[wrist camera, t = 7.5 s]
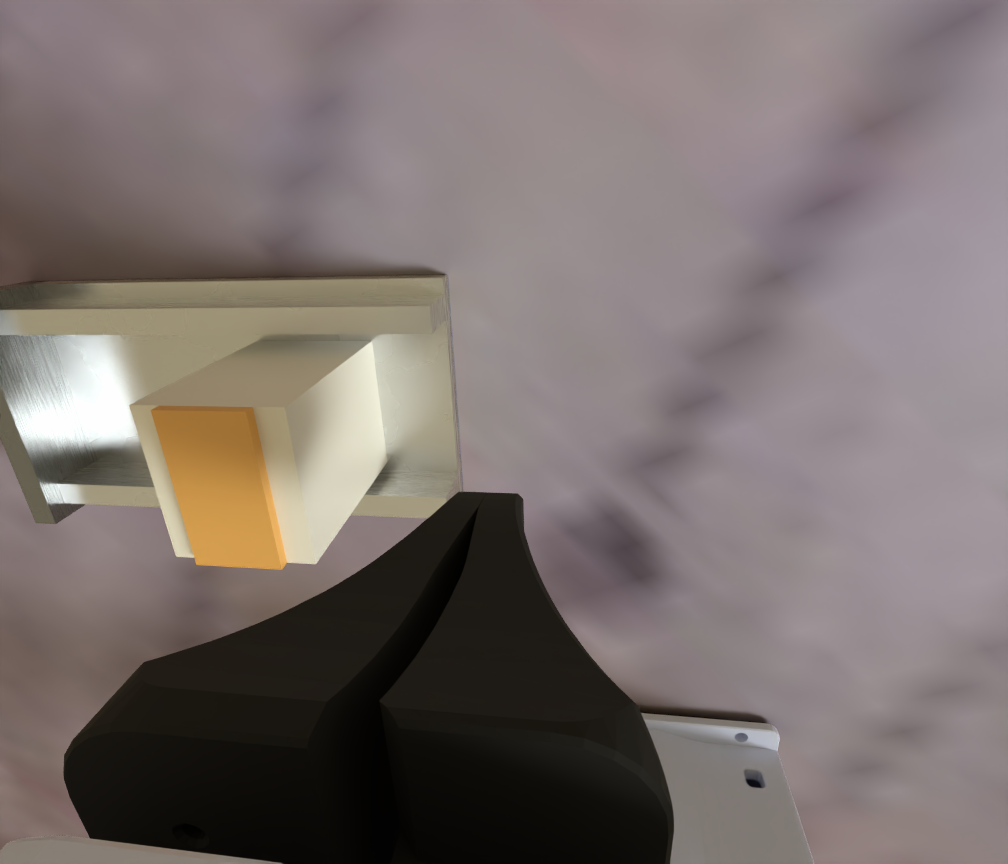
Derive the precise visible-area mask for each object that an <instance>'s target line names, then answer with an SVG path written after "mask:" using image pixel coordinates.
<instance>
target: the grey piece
mask: <svg viewBox="0 0 1008 864" xmlns="http://www.w3.org/2000/svg"><path fill="white" fill-rule="evenodd" d="M256 341H372V346H373V353H374V361H375V369H376V377H377V385H378V392H379V400H380V408H381V416H382V424H383V431H384V439H385V447H386V455H387V463H386V465H385V466H384V468H383V469H382V470H381V472H380V473H379V475H378V476H377V478H376V479H375V480H374V482H373V483H372V485H371V486H370V488H369V489H368V490H367V492H366V493H365V495H364V496H363V498H362V499H361V500H360V502H359V503H358V505H357V506H356V508H355V509H354V510H353V512H352V513H351V515H360V516H384V517H409V518H429V517H430V516H431V515H432V514H433V513H435V512H436V511H437V510H438V509H439V508H440V507H441V506H443V505H444V504H445V503H446V502H447V501H448V500H449V499H450V498H452V497H453V496H454V495H455V494H456V493H458V492H463V487H462V474H461V460H460V446H459V432H458V418H457V404H456V391H455V377H454V363H453V349H452V335H451V321H450V308H449V294H448V280H447V275H404V276H342V277H280V278H218V279H156V280H94V281H31V282H23V283H18V284H13V285H7V286H2V287H0V438H1V441H2V443H3V445H4V448H5V450H6V453H7V455H8V457H9V460H10V462H11V465H12V467H13V469H14V472H15V474H16V477H17V479H18V481H19V484H20V486H21V489H22V491H23V493H24V496H25V498H26V501H27V503H28V505H29V508H30V510H31V513H32V515H33V517H34V520H35V522H36V523H45V524H56V523H58V522H60V521H61V520H63V519H64V518H66V517H67V516H69V515H70V514H72V513H73V512H75V511H76V510H78V509H79V508H81V507H82V506H84V505H85V504H95V505H119V506H143V507H161V506H160V503H159V500H158V497H157V494H156V490H155V487H154V484H153V481H152V478H151V474H150V471H149V468H148V465H147V462H146V458H145V455H144V452H143V449H142V446H141V442H140V439H139V436H138V433H137V430H136V426H135V423H134V420H133V417H132V414H131V410H130V407H129V405H130V404H132V403H134V402H136V401H138V400H140V399H142V398H144V397H146V396H148V395H150V394H152V393H154V392H156V391H158V390H160V389H162V388H164V387H166V386H168V385H170V384H172V383H174V382H176V381H178V380H180V379H182V378H184V377H186V376H188V375H190V374H192V373H194V372H196V371H198V370H200V369H202V368H204V367H206V366H208V365H210V364H212V363H214V362H216V361H218V360H220V359H222V358H224V357H226V356H228V355H230V354H232V353H234V352H236V351H238V350H240V349H242V348H244V347H246V346H248V345H250V344H252V343H254V342H256Z"/></svg>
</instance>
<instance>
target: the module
mask: <svg viewBox="0 0 1008 864" xmlns="http://www.w3.org/2000/svg"><path fill="white" fill-rule="evenodd" d="M129 407H130V410H131V414H132V417H133V420H134V423H135V426H136V430H137V433H138V436H139V439H140V442H141V446H142V449H143V452H144V455H145V458H146V462H147V465H148V468H149V471H150V474H151V478H152V481H153V484H154V487H155V490H156V494H157V497H158V500H159V503H160V506H161V510H162V513H163V516H164V519H165V522H166V526H167V529H168V532H169V535H170V538H171V542H172V545H173V548H174V551H175V554H176V557H192V558H195V561H196V565H208V566H226V567H244V568H262V569H280V570H282V569H283V567H284V566H285V565H286V563H304V564H316V563H317V562H318V560H319V559H320V558H321V556H322V555H323V553H324V552H325V550H326V549H327V548H328V546H329V545H330V543H331V542H332V540H333V539H334V538H335V536H336V535H337V533H338V532H339V530H340V529H341V528H342V526H343V525H344V523H345V522H346V520H347V519H348V518H349V516H350V515H351V513H352V512H353V510H354V509H355V508H356V506H357V505H358V503H359V502H360V500H361V499H362V498H363V496H364V495H365V493H366V492H367V490H368V489H369V488H370V486H371V485H372V483H373V482H374V480H375V479H376V478H377V476H378V475H379V473H380V472H381V470H382V469H383V468H384V466H385V465H386V463H387V455H386V447H385V439H384V431H383V424H382V416H381V408H380V400H379V392H378V385H377V377H376V369H375V361H374V353H373V346H372V341H256V342H254V343H252V344H250V345H248V346H246V347H244V348H242V349H240V350H238V351H236V352H234V353H232V354H230V355H228V356H226V357H224V358H222V359H220V360H218V361H216V362H214V363H212V364H210V365H208V366H206V367H204V368H202V369H200V370H198V371H196V372H194V373H192V374H190V375H188V376H186V377H184V378H182V379H180V380H178V381H176V382H174V383H172V384H170V385H168V386H166V387H164V388H162V389H160V390H158V391H156V392H154V393H152V394H150V395H148V396H146V397H144V398H142V399H140V400H138V401H136V402H134V403H132V404H130V405H129Z"/></svg>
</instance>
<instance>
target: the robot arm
mask: <svg viewBox="0 0 1008 864" xmlns="http://www.w3.org/2000/svg"><path fill="white" fill-rule="evenodd" d="M738 733H740V734H738ZM779 741H780V737H779V734H778V731H777V729H776V728H775V727H774V726H773V725H771V724H766V723H755V722H743V721H731V720H719V719H707V718H695V717H683V716H671V715H659V714H647V713H641V712H640V709H639V707H638V705H637V704H635V703H634V702H633V701H632V700H631V699H630V698H629V697H628V696H627V695H626V694H625V693H624V692H623V691H622V690H621V689H620V688H619V687H618V686H617V685H616V684H615V683H614V682H613V681H612V680H611V679H610V678H609V677H608V676H607V675H606V674H605V673H604V672H603V670H602V669H601V668H600V667H599V666H598V665H597V663H596V662H595V661H594V660H593V659H592V658H591V657H590V655H589V654H588V653H587V652H586V650H585V649H584V647H583V646H582V645H581V643H580V642H579V641H578V639H577V638H576V637H575V635H574V634H573V633H572V631H571V630H570V629H569V627H568V626H567V624H566V623H565V621H564V620H563V618H562V616H561V615H560V613H559V612H558V610H557V608H556V607H555V605H554V603H553V601H552V600H551V598H550V596H549V594H548V592H547V590H546V588H545V586H544V584H543V582H542V580H541V578H540V576H539V573H538V571H537V568H536V566H535V564H534V561H533V558H532V556H531V553H530V550H529V546H528V543H527V540H526V536H525V533H524V512H523V498H522V497H521V496H520V495H519V494H512V493H484V492H458V493H456V494H455V495H454V496H453V497H452V498H450V499H449V500H448V501H447V502H446V503H445V504H444V505H443V506H441V507H440V508H439V509H438V510H437V511H436V512H435V513H433V514H432V515H431V516H430V517H429V518H428V519H427V520H425V521H424V522H423V523H422V524H421V525H420V526H418V527H417V528H416V529H415V530H414V531H412V532H411V533H410V534H409V535H408V536H406V537H405V538H404V539H403V540H401V541H400V542H399V543H397V544H396V545H395V546H393V547H392V548H391V549H389V550H388V551H387V552H385V553H384V554H383V555H381V556H380V557H379V558H377V559H376V560H375V561H373V562H372V563H370V564H369V565H367V566H366V567H364V568H363V569H361V570H360V571H358V572H357V573H355V574H354V575H352V576H350V577H349V578H347V579H345V580H344V581H342V582H340V583H339V584H337V585H335V586H334V587H332V588H330V589H328V590H327V591H325V592H323V593H321V594H319V595H317V596H315V597H313V598H311V599H309V600H307V601H305V602H303V603H301V604H299V605H297V606H295V607H293V608H291V609H289V610H287V611H285V612H283V613H281V614H279V615H276V616H274V617H272V618H269V619H267V620H265V621H262V622H260V623H258V624H255V625H253V626H250V627H248V628H245V629H243V630H240V631H238V632H235V633H232V634H230V635H227V636H224V637H222V638H219V639H216V640H213V641H211V642H207V643H204V644H201V645H198V646H195V647H192V648H189V649H185V650H182V651H179V652H176V653H173V654H170V655H167V656H164V657H160V658H157V659H153V660H150V661H146V662H144V663H143V664H142V665H141V666H140V667H139V668H138V669H137V670H136V671H135V672H134V673H133V674H132V676H131V677H130V678H129V679H128V680H127V681H126V682H125V683H124V684H123V685H122V687H121V688H120V689H119V690H118V691H117V692H116V693H115V694H114V695H113V696H112V697H111V699H110V700H109V701H108V702H107V703H106V704H105V705H104V706H103V707H102V708H101V710H100V711H99V712H98V713H97V714H96V715H95V716H94V717H93V718H92V719H91V720H90V722H89V723H88V724H87V725H86V726H85V727H84V728H83V729H82V730H81V731H80V733H79V734H78V735H77V736H76V737H75V738H74V739H73V740H72V742H71V744H70V746H69V748H68V749H67V751H66V753H65V755H64V781H65V784H66V787H67V790H68V793H69V796H70V799H71V801H72V803H73V805H74V807H75V809H76V811H77V813H78V815H79V817H80V819H81V821H82V823H83V825H84V827H85V829H86V831H87V833H88V835H89V837H90V838H82V837H74V836H66V835H57V836H43V837H29V838H23V839H19V840H15V841H11V842H8V843H7V844H6V845H5V846H4V847H3V848H2V849H1V850H0V864H814V860H813V857H812V854H811V851H810V848H809V845H808V842H807V839H806V836H805V833H804V830H803V827H802V824H801V821H800V818H799V815H798V812H797V809H796V806H795V803H794V800H793V797H792V794H791V791H790V788H789V784H788V781H787V778H786V775H785V772H784V769H783V766H782V763H781V760H780V757H779V754H778V751H777V750H778V745H779Z"/></svg>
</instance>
